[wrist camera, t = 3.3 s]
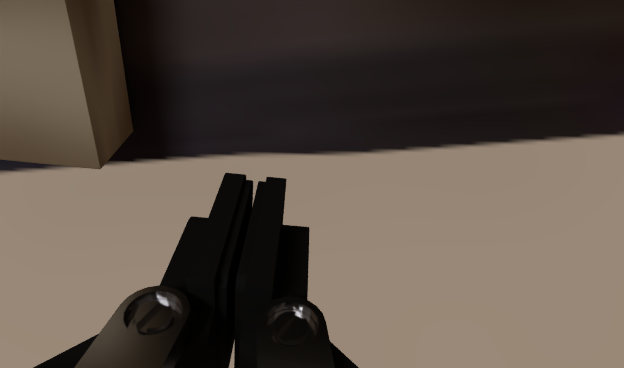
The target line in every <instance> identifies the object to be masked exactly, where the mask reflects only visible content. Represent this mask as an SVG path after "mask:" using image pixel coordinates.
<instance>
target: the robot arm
mask: <svg viewBox="0 0 624 368" xmlns="http://www.w3.org/2000/svg"><path fill="white" fill-rule="evenodd" d="M285 188H286V179H284V178H274V177H267V179H266V182H261V181H259V182H258V186H257V190H256V195H255V199H254V203H253V207H252V200H253V181H251V180H246V175H242V174H232V173H225V175H224V178H223V180H222V183H221V186H220V188H219V191H218V194H217V196H216V199H215V202H214V204H213V207H212V210H211V212H210V215H209V218H201V217H190V219H189V220H188V222H187V225H186V227H185V229H184V232H183V234H182V236H181V238H180V240H179V243H178V245H177V247H176V250H175V252H174V254H173V256H172V259H171V261H170V263H169V266H168V268H167V270H166V272H165V274H164V277H163V279H162V281H161V284H160V286H153V287H147V288H145V289H142V290H139V291H137V292H135V293H134V294H132V295H130V296H129V297H127V298H126V299H125V301H124V302H123V303H122V304H121V305H120V306H119V307H118V309H117V310H116V311H115V313H114V314H113V315H112V317H111V318H110V320H109V321H108V322H107V324H106V325H105V326H104V328H103V329H102V331H101V332H100V333H99V334H97V335H95V336H94V337H92V338H90V339H88V340H86V341H84V342H82V343H80V344H78V345H77V346H74V347H72V348H70V349H69V350H66V351H65V352H63V353H61V354H59V355H57V356H55V357H53V358H51V359H49V360H47V361H45V362H43V363H41V364H39V365H38V366H36V367H34V368H228V367H229V363H230V359H231V353H232V349H233V344H234V339H235V364H234V365H235V367H234V368H358V367H357V366H356V365H355V364H354V363H353V362H352V361H351V360H350V359H349V358H348V357H346V356H345V355H344V354H343V353H342V352H341V351H340V350H339V349H338V348H337V347H335V346H334V345H333V344H332V343H331V342H330V340H329V335H328V330H327V326H326V321H325V319H324V316H323V313H322V312H321V311H320V310H319V309H318V307H317V306H316V305H314V304H313V303H311V302H310V301H308V300H307V291H308V257H309V227H301V226H289V225H283V213H284V201H285Z"/></svg>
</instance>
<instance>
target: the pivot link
mask: <svg viewBox="0 0 624 368" xmlns="http://www.w3.org/2000/svg"><path fill="white" fill-rule="evenodd" d="M132 132H133V126H132V119H131V113H130V106H129V99H128V93H127V86H126V79H125V73H124V66H123V59H122V53H121V46H120V39H119V33H118V26H117V19H116V13H115V6H114V0H0V159H2V160H12V161H22V162H33V163H43V164H53V165H63V166H73V167H83V168H94V169H101V168H102V167H103V166H104V165H105V163H106V162H107V161H108V160H109V159H110V158H111V156H112V155H113V154H114V153H115V152H116V151H117V149H118V148H119V147H120V146H121V145H122V144H123V142H124V141H125V140H126V139H127V138H128V137H129V135H130V134H131V133H132Z"/></svg>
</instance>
